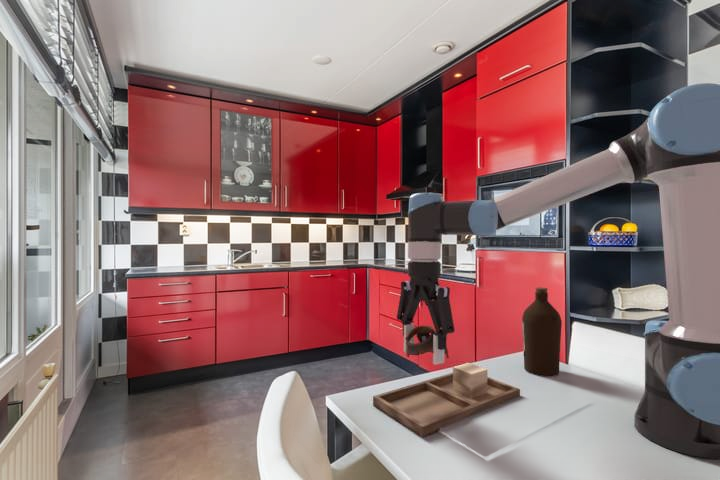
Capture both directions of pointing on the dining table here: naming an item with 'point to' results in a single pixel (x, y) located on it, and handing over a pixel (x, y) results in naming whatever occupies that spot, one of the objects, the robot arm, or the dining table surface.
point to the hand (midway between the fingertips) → (423, 356)
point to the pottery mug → (421, 341)
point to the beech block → (470, 380)
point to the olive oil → (541, 336)
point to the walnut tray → (438, 403)
